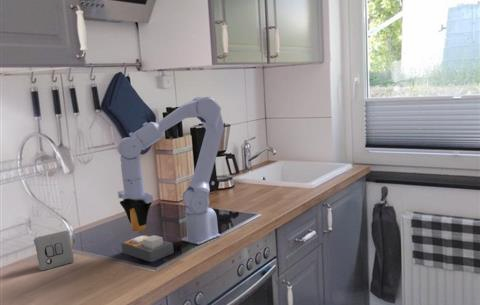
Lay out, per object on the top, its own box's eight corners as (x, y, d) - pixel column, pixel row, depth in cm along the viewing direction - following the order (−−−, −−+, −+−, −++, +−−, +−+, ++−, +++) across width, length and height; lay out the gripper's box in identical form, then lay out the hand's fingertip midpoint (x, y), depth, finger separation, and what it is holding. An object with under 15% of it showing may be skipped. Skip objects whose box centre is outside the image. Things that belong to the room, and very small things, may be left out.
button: (155, 244, 134) (154, 235, 133) (163, 247, 131) (162, 237, 130) (144, 249, 131) (142, 239, 130) (152, 251, 128) (151, 241, 127)
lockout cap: (139, 226, 137) (137, 206, 136) (148, 227, 135) (146, 208, 134) (129, 230, 134) (126, 210, 133) (138, 231, 132) (136, 211, 131)
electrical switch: (40, 272, 125) (34, 239, 125) (37, 268, 130) (31, 236, 129) (75, 262, 130) (70, 231, 130) (70, 259, 135) (65, 228, 134)
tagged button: (142, 245, 138) (141, 235, 138) (150, 247, 135) (149, 237, 135) (131, 249, 135) (130, 239, 135) (139, 251, 132) (138, 241, 132)
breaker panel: (144, 244, 141) (143, 234, 140) (173, 252, 131) (172, 242, 131) (122, 252, 135) (121, 242, 134) (151, 262, 126) (150, 251, 125)
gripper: (107, 179, 134) (112, 223, 136) (136, 183, 124) (141, 231, 126) (127, 174, 139) (132, 217, 141) (156, 178, 129) (161, 224, 131)
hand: (138, 223), depth 134 cm, fingers closed on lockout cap, 4 cm apart
